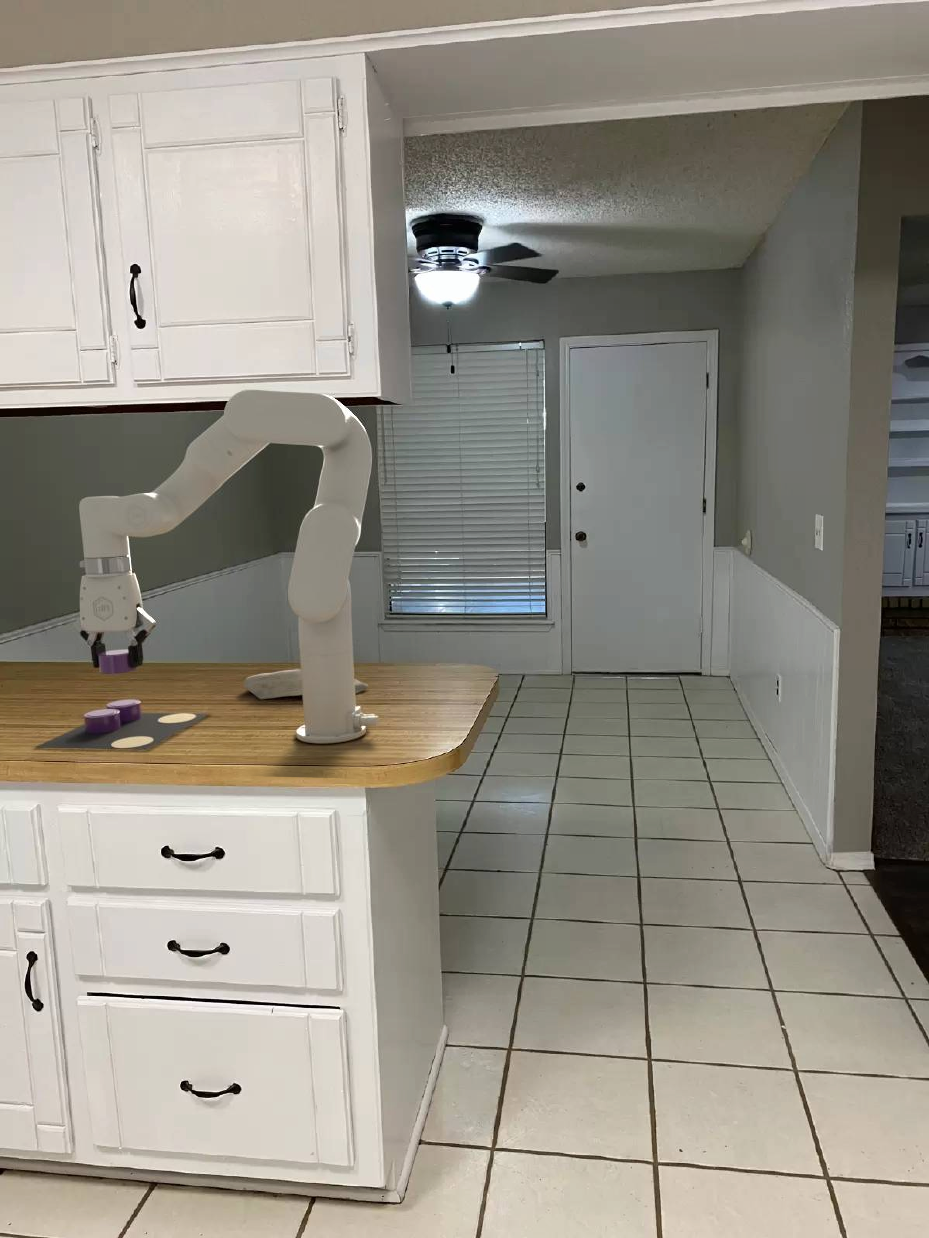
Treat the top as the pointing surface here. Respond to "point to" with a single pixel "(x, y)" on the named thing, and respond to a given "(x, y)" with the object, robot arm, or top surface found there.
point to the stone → (282, 684)
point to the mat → (127, 733)
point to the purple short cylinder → (114, 662)
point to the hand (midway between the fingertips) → (118, 665)
